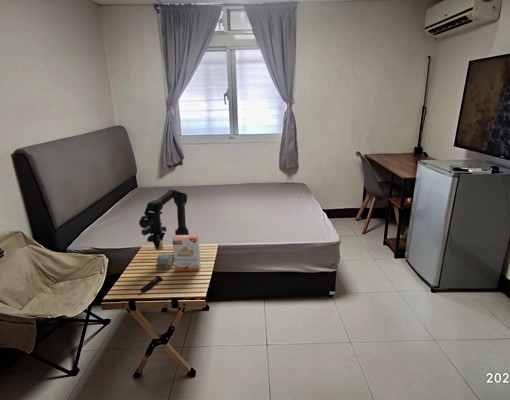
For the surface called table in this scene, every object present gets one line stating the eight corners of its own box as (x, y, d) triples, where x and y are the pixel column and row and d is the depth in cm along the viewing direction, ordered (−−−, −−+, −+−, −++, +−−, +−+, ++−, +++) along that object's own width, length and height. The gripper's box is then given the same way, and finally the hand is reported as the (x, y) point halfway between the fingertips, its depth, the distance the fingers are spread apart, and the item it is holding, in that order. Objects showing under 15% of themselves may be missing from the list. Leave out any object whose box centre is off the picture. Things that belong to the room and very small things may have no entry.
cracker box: (175, 271, 183) (171, 238, 177) (177, 267, 188) (174, 234, 183) (199, 271, 182) (196, 237, 177) (200, 266, 188) (198, 234, 183)
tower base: (173, 263, 194) (172, 258, 193) (170, 269, 186) (169, 264, 185) (160, 264, 194) (159, 258, 193) (156, 270, 186) (156, 264, 185)
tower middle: (170, 259, 192) (170, 254, 191) (168, 264, 186) (167, 258, 185) (160, 259, 192) (159, 254, 191) (157, 264, 186) (156, 259, 185)
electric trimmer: (138, 293, 162) (137, 288, 161) (158, 279, 176) (157, 274, 175) (144, 295, 161) (143, 289, 160) (163, 280, 174) (162, 275, 173)
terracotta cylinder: (164, 247, 191) (163, 239, 190) (161, 250, 186) (160, 242, 185) (155, 247, 191) (155, 239, 190) (153, 250, 186) (152, 242, 185)
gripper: (147, 218, 194) (150, 241, 198) (136, 228, 176) (140, 254, 180) (165, 217, 194) (167, 241, 198) (156, 228, 176) (159, 253, 180)
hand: (158, 247), depth 189 cm, fingers closed on terracotta cylinder, 5 cm apart
